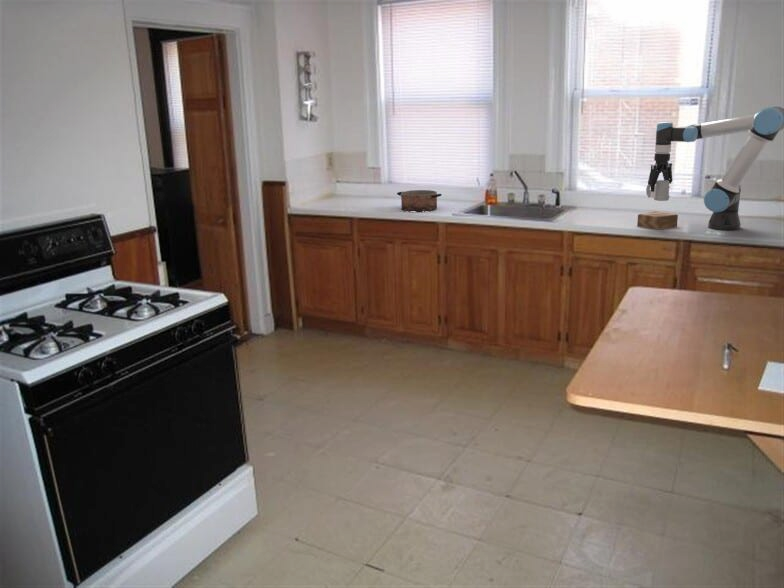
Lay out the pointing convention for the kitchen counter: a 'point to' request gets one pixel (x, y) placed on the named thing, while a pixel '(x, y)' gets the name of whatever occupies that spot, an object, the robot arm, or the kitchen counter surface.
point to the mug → (660, 190)
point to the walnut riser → (657, 220)
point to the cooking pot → (419, 200)
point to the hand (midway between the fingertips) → (659, 196)
